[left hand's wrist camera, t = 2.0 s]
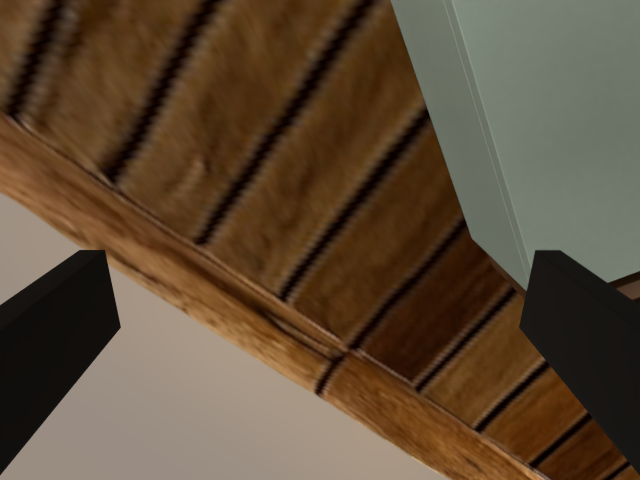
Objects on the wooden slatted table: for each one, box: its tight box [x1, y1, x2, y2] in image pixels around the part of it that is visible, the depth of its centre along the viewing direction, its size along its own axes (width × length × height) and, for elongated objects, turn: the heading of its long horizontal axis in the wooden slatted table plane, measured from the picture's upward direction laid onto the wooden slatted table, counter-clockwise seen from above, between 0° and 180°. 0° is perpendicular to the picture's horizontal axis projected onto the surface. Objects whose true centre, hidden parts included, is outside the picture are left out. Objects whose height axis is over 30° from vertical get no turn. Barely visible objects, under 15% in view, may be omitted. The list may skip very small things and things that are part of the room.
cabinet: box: [391, 0, 640, 291], centre depth 26 cm, size 20×12×12 cm, turn 24°
